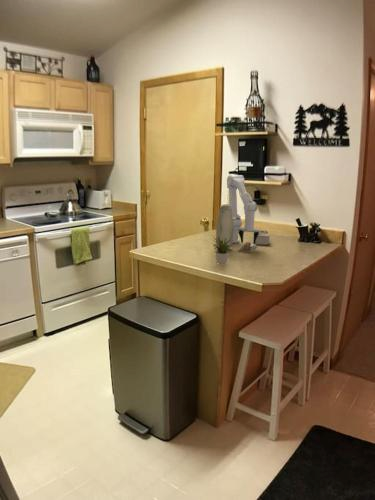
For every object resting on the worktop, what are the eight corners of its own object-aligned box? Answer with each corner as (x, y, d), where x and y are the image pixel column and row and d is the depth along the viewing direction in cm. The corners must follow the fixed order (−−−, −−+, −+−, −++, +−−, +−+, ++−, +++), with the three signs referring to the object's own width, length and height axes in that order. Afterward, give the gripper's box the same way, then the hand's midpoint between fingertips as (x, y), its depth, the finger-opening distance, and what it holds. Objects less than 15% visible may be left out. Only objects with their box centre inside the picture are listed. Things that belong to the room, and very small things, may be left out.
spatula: (249, 250, 246) (249, 245, 245) (241, 249, 248) (241, 244, 247) (254, 245, 258) (254, 240, 258) (246, 245, 260) (246, 239, 259)
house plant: (202, 264, 217) (203, 234, 213) (211, 258, 229) (212, 230, 225) (227, 268, 211) (228, 237, 207) (235, 261, 223) (236, 232, 219)
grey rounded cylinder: (218, 247, 255) (219, 203, 248) (233, 248, 252) (236, 204, 245) (213, 250, 246) (215, 205, 239) (230, 252, 243) (232, 206, 236)
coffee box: (269, 245, 263) (266, 239, 278) (269, 235, 261) (267, 230, 277) (254, 244, 264) (253, 239, 279) (255, 235, 262) (253, 230, 278)
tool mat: (237, 251, 246) (237, 250, 246) (245, 244, 263) (245, 244, 263) (250, 252, 243) (250, 252, 243) (257, 246, 260) (257, 245, 260)
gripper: (236, 221, 247) (235, 243, 251) (259, 223, 242) (258, 245, 246) (239, 220, 254) (238, 241, 257) (262, 222, 249) (260, 243, 252)
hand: (248, 243), depth 252 cm, fingers open, 7 cm apart
